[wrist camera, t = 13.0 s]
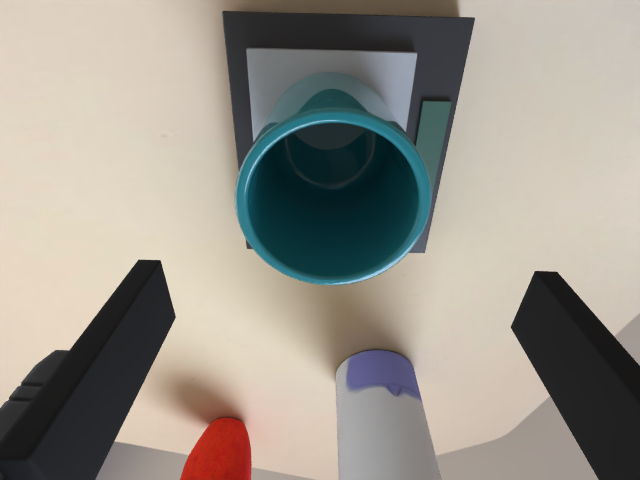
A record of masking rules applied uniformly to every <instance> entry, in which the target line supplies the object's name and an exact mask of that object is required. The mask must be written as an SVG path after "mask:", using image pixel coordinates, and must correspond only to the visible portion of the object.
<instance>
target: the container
mask: <svg viewBox="0 0 640 480" xmlns="http://www.w3.org/2000/svg"><path fill="white" fill-rule="evenodd" d="M336 406H337V439H338V473H339V480H442V479H441V475H440V471H439V468H438V464H437V459H436V455H435V451H434V447H433V444H432V440H431V436H430V432H429V428H428V424H427V420H426V416H425V412H424V408H423V404H422V400H421V396H420V392H419V388H418V384H417V380H416V376H415V372H414V368H413V366H412V364H411V363H410V362H409V361H408V360H407V359H406V358H405V357H403V356H401V355H399V354H397V353H394V352H390V351H384V350H371V351H365V352H361V353H358V354H355V355H353V356H351V357H349V358H348V359H346V360H345V361H344V362H343V363H342V364H341V365H340V366H339V368H338V369H337V372H336Z"/></svg>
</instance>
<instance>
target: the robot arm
mask: <svg viewBox="0 0 640 480" xmlns="http://www.w3.org/2000/svg"><path fill="white" fill-rule="evenodd" d="M175 318H176V316H175V313H174V309H173V305H172V301H171V298H170V294H169V290H168V286H167V283H166V279H165V275H164V272H163V268H162V264H161V260H138V261H137V263H136V264H135V265H134V267H133V268H132V269H131V270H130V272H129V273H128V274H127V276H126V277H125V278H124V280H123V281H122V282H121V284H120V285H119V286H118V288H117V289H116V290H115V292H114V293H113V294H112V295H111V297H110V298H109V299H108V301H107V302H106V303H105V305H104V306H103V307H102V309H101V310H100V311H99V313H98V314H97V315H96V316H95V318H94V319H93V320H92V322H91V323H90V324H89V326H88V327H87V328H86V330H85V331H84V332H83V334H82V335H81V336H80V337H79V339H78V340H77V341H76V343H75V344H74V345H73V347H72V348H71V349H70V351H67V350H55V351H54V352H52V353H51V354H50V355H48V356H47V357H46V358H44V359H43V360H42V361H41V362H39V363H38V364H37V365H35V367H34V368H33V369H32V370H31V371H30V373H29V374H28V375H27V376H26V378H25V379H24V380H23V381H22V382H21V386H18V387H17V388H16V390H15V391H14V392H13V393H12V395H11V396H10V397H9V401H6V402H5V403H4V404H3V405H2V407H1V408H0V480H95V479H96V477H97V475H98V473H99V471H100V469H101V467H102V465H103V463H104V460H105V459H106V457H107V455H108V452H109V450H110V448H111V446H112V444H113V443H114V441H115V439H116V437H117V435H118V432H119V430H120V428H121V426H122V424H123V422H124V420H125V418H126V416H127V414H128V412H129V410H130V408H131V406H132V404H133V402H134V400H135V398H136V396H137V394H138V392H139V390H140V388H141V386H142V384H143V382H144V380H145V378H146V376H147V374H148V372H149V370H150V368H151V366H152V364H153V362H154V360H155V358H156V356H157V354H158V352H159V350H160V348H161V346H162V344H163V342H164V340H165V338H166V336H167V334H168V332H169V330H170V328H171V326H172V324H173V322H174V320H175ZM511 329H512V330H513V332H514V334H515V335H516V337H517V339H518V341H519V342H520V344H521V346H522V348H523V349H524V351H525V353H526V354H527V356H528V358H529V360H530V361H531V363H532V365H533V367H534V368H535V370H536V372H537V374H538V375H539V377H540V379H541V380H542V382H543V384H544V386H545V387H546V389H547V391H548V393H549V394H550V396H551V398H552V399H553V401H554V403H555V405H556V406H557V408H558V410H559V412H560V413H561V415H562V417H563V419H564V420H565V422H566V424H567V425H568V427H569V429H570V431H571V432H572V434H573V436H574V438H575V439H576V441H577V443H578V445H579V446H580V448H581V450H582V451H583V453H584V455H585V457H586V458H587V460H588V462H589V464H590V465H591V467H592V469H593V470H594V472H595V474H596V475H597V477H598V479H599V480H640V366H639V365H638V363H637V362H636V361H635V360H634V359H633V358H632V357H631V355H630V354H629V353H628V352H627V351H626V350H625V349H624V348H623V347H622V345H621V344H620V343H619V342H618V341H617V340H616V338H615V337H614V336H613V335H612V334H611V333H610V332H609V330H608V329H607V328H606V327H605V326H604V325H603V324H602V322H601V321H600V320H599V319H598V318H597V317H596V316H595V314H594V313H593V312H592V311H591V310H590V309H589V308H588V306H587V305H586V304H585V303H584V302H583V301H582V300H581V299H580V297H579V296H578V295H577V294H576V293H575V292H574V291H573V289H572V288H571V287H570V286H569V285H568V284H567V283H566V281H565V280H564V279H563V278H562V277H561V276H560V275H559V273H558V272H548V271H535V272H534V275H533V277H532V279H531V282H530V284H529V286H528V289H527V291H526V293H525V296H524V298H523V300H522V302H521V305H520V307H519V309H518V312H517V314H516V316H515V319H514V321H513V323H512V326H511Z"/></svg>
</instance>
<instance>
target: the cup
mask: <svg viewBox="0 0 640 480" xmlns="http://www.w3.org/2000/svg"><path fill="white" fill-rule="evenodd" d="M235 207H236V214H237V218H238V221H239V224H240V227H241V230H242V232H243V234H244V236H245V238H246V239H247V241H248V243H249V244H250V245H251V247H252V248H253V249H254V251H255V252H256V253H257V254H258V255H259V256H260V257H261V258H262V259H263V260H264V261H265V262H266V263H268V264H269V265H270V266H272V267H273V268H275V269H276V270H278V271H279V272H281V273H283V274H285V275H287V276H289V277H292V278H294V279H297V280H300V281H304V282H307V283H312V284H319V285H345V284H351V283H356V282H360V281H364V280H367V279H369V278H372V277H374V276H377V275H379V274H381V273H383V272H384V271H386V270H388V269H389V268H391V267H392V266H394V265H395V264H396V263H398V262H399V261H400V260H401V259H402V258H404V257H405V256H406V255H407V253H408V252H409V251H410V250H411V249H412V248H413V247H414V245H415V244H416V242H417V241H418V239H419V238H420V236H421V234H422V232H423V230H424V228H425V225H426V223H427V220H428V216H429V213H430V207H431V184H430V178H429V174H428V171H427V168H426V165H425V163H424V161H423V158H422V156H421V155H420V153H419V151H418V150H417V148H416V147H415V145H414V144H413V142H412V141H411V139H410V138H409V136H408V135H407V134H406V132H405V131H404V129H403V128H402V126H401V125H400V123H399V122H398V120H397V119H396V118H395V116H394V115H393V113H392V112H391V110H390V109H389V107H388V106H387V104H386V103H385V102H384V100H383V99H382V98H381V96H380V95H379V94H378V93H377V92H376V91H375V90H374V89H373V88H372V87H371V86H370V85H368V84H367V83H365V82H364V81H362V80H360V79H358V78H356V77H354V76H351V75H348V74H344V73H337V72H324V73H318V74H313V75H310V76H307V77H305V78H303V79H301V80H299V81H297V82H296V83H294V84H293V85H291V86H290V87H289V88H288V89H287V90H286V91H285V92H283V94H282V95H281V96H280V97H279V98H278V100H277V101H276V103H275V104H274V106H273V108H272V110H271V111H270V113H269V115H268V117H267V119H266V121H265V122H264V124H263V126H262V128H261V130H260V132H259V133H258V135H257V137H256V139H255V141H254V143H253V144H252V146H251V148H250V150H249V152H248V153H247V155H246V157H245V159H244V161H243V163H242V166H241V168H240V171H239V174H238V178H237V182H236V188H235Z"/></svg>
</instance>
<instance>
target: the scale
mask: <svg viewBox="0 0 640 480" xmlns="http://www.w3.org/2000/svg"><path fill="white" fill-rule="evenodd" d="M222 14H223V24H224V34H225V43H226V53H227V62H228V72H229V82H230V91H231V101H232V111H233V120H234V130H235V139H236V149H237V159H238V168H239V171H240V168H241V166H242V163H243V161H244V159H245V157H246V155H247V153H248V152H249V150H250V148H251V146H252V144H253V143H254V141H255V139H256V137H257V135H258V133H259V132H260V130H261V128H262V126H263V124H264V122H265V121H266V119H267V117H268V115H269V113H270V111H271V110H272V108H273V106H274V104H275V103H276V101H277V100H278V98H279V97H280V96H281V95H282V94H283V92H285V91H286V90H287V89H288V88H289V87H290V86H291V85H293V84H294V83H296V82H297V81H299V80H301V79H303V78H305V77H307V76H310V75H313V74H318V73H324V72H337V73H344V74H348V75H351V76H354V77H356V78H358V79H360V80H362V81H364V82H365V83H367V84H368V85H370V86H371V87H372V88H373V89H374V90H375V91H376V92H377V93H378V94H379V95H380V96H381V98H382V99H383V100H384V102H385V103H386V104H387V106H388V107H389V109H390V110H391V112H392V113H393V115H394V116H395V118H396V119H397V120H398V122H399V123H400V125H401V126H402V128H403V129H404V131H405V132H406V134H407V135H408V136H409V138H410V139H411V141H412V142H413V144H414V145H415V147H416V148H417V150H418V151H419V153H420V155H421V156H422V158H423V161H424V163H425V165H426V168H427V171H428V174H429V178H430V184H431V207H430V213H429V216H428V220H427V223H426V225H425V228H424V230H423V232H422V234H421V236H420V238H419V239H418V241H417V242H416V244H415V245H414V247H413V248H412V249H411V250H410V251H409V252H408V253H425V249H426V244H427V240H428V235H429V230H430V226H431V221H432V216H433V212H434V207H435V202H436V198H437V193H438V189H439V184H440V179H441V175H442V170H443V165H444V161H445V156H446V151H447V147H448V142H449V137H450V133H451V128H452V123H453V119H454V114H455V109H456V105H457V100H458V95H459V91H460V86H461V81H462V77H463V72H464V67H465V63H466V58H467V53H468V49H469V44H470V39H471V35H472V30H473V25H474V21H475V18H471V17H432V16H394V15H355V14H317V13H278V12H239V11H223V12H222ZM246 245H247V249H253V248H252V247H251V245H250V244H249V243H248V241H247V239H246Z"/></svg>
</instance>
